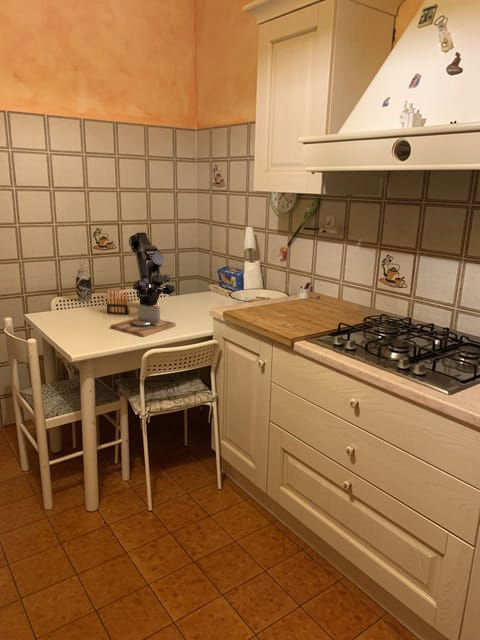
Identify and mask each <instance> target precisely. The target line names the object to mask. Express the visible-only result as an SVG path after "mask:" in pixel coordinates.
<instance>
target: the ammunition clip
mask: <svg viewBox="0 0 480 640" xmlns="http://www.w3.org/2000/svg"><path fill="white" fill-rule="evenodd" d="M106 292H107V293H106V294H107V296H106V303H107V304H106V314H107V315H116V316H117V315H118V316H129V315H130V305H129V297H128V296H129V295H128V291H127V290H125V291H124V290H118V291H117V290H116V289H115V290H114V291H113V289H111V290H110V289H107V291H106Z"/></svg>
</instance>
